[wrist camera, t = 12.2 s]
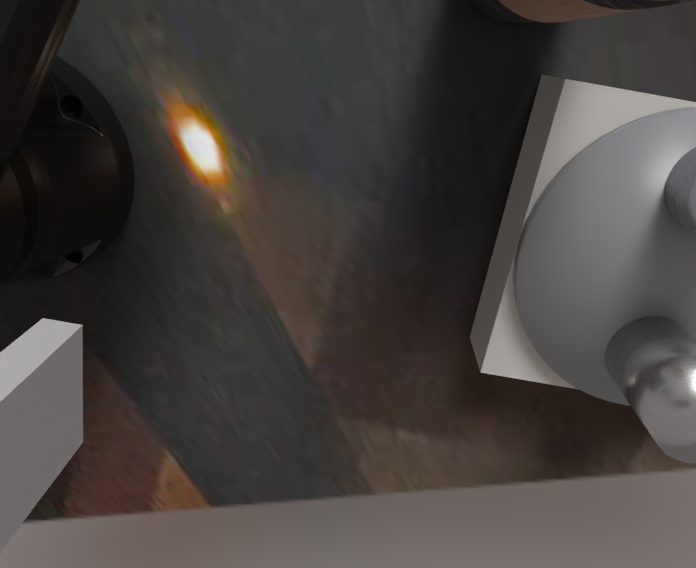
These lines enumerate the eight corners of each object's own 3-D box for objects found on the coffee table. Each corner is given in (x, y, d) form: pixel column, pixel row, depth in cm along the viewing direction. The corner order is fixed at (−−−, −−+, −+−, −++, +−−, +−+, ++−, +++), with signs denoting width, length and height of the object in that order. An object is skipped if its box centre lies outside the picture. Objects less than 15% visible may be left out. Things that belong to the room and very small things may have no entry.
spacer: (620, 309, 35) (675, 370, 28) (703, 324, 35) (777, 388, 28) (593, 382, 37) (639, 455, 30) (672, 395, 37) (735, 471, 30)
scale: (468, 342, 43) (481, 386, 37) (541, 74, 36) (570, 80, 30) (739, 389, 43) (792, 440, 37) (864, 132, 36) (952, 148, 31)
